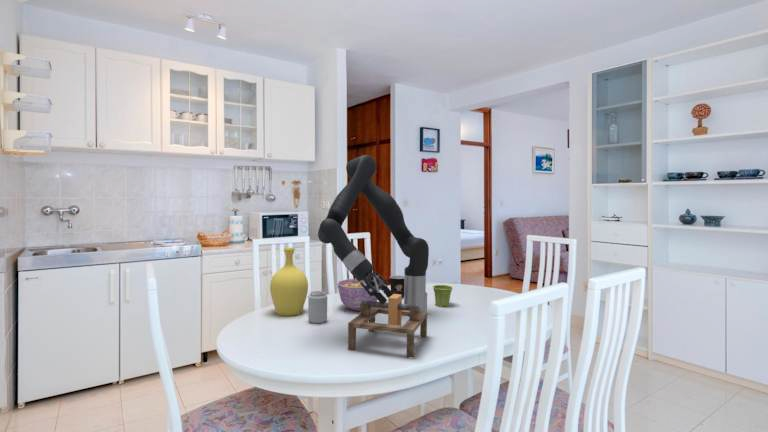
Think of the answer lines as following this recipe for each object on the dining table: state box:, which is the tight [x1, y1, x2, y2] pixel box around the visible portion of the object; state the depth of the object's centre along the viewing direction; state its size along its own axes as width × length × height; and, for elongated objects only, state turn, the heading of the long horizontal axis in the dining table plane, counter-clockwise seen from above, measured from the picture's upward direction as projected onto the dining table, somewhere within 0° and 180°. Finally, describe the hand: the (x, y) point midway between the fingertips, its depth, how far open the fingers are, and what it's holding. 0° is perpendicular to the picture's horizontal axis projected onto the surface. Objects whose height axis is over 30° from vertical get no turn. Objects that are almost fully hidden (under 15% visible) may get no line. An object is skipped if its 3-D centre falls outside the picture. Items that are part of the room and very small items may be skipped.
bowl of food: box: [336, 278, 381, 312], centre depth 191 cm, size 20×20×12 cm
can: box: [307, 290, 328, 325], centre depth 170 cm, size 8×8×12 cm
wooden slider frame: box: [347, 300, 428, 358], centre depth 147 cm, size 22×22×14 cm
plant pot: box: [432, 284, 454, 308], centre depth 198 cm, size 9×9×9 cm
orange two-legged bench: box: [387, 294, 403, 326], centre depth 146 cm, size 3×6×11 cm, turn 163°
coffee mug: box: [384, 275, 404, 299], centre depth 214 cm, size 12×9×10 cm
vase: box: [269, 247, 309, 317], centre depth 182 cm, size 16×16×28 cm
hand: (388, 299), depth 147 cm, fingers open, 8 cm apart
